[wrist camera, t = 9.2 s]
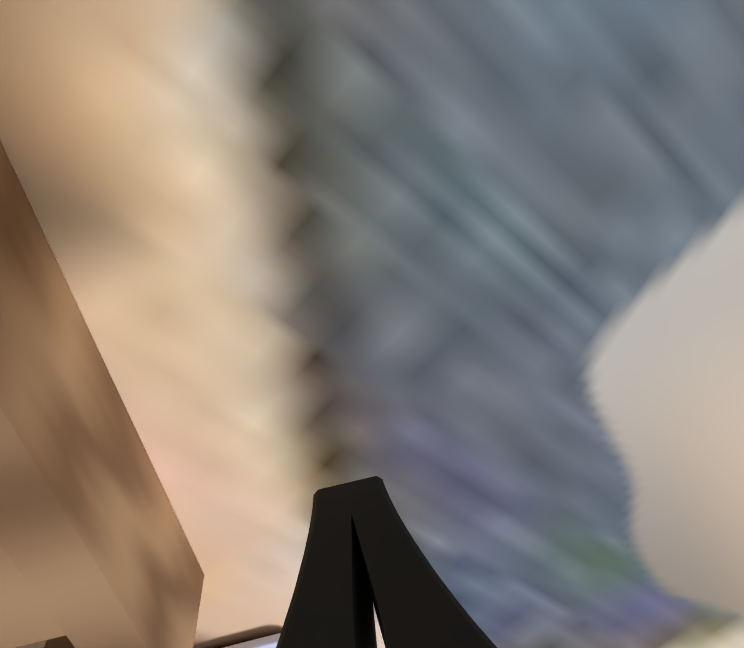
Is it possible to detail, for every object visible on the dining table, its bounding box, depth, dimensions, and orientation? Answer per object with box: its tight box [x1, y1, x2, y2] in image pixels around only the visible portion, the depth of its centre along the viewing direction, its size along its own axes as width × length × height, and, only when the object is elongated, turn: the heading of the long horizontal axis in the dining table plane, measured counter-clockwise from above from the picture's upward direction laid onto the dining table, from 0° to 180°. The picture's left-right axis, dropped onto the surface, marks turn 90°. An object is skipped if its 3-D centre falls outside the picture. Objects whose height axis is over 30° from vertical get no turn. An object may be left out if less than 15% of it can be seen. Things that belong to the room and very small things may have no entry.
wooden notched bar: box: [0, 142, 204, 648], centre depth 14 cm, size 19×5×5 cm, turn 9°
